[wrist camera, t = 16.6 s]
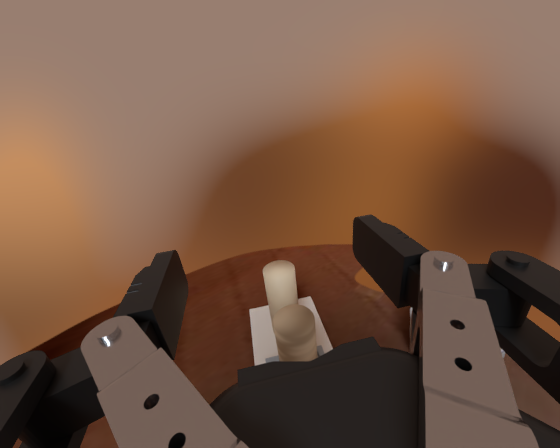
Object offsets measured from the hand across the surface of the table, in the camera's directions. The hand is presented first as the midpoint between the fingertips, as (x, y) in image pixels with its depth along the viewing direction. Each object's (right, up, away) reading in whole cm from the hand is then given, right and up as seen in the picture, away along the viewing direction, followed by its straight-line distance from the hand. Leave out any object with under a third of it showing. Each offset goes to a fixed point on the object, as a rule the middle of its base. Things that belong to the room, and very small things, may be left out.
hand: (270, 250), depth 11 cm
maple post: (+3, -20, +23) cm, 31 cm away
